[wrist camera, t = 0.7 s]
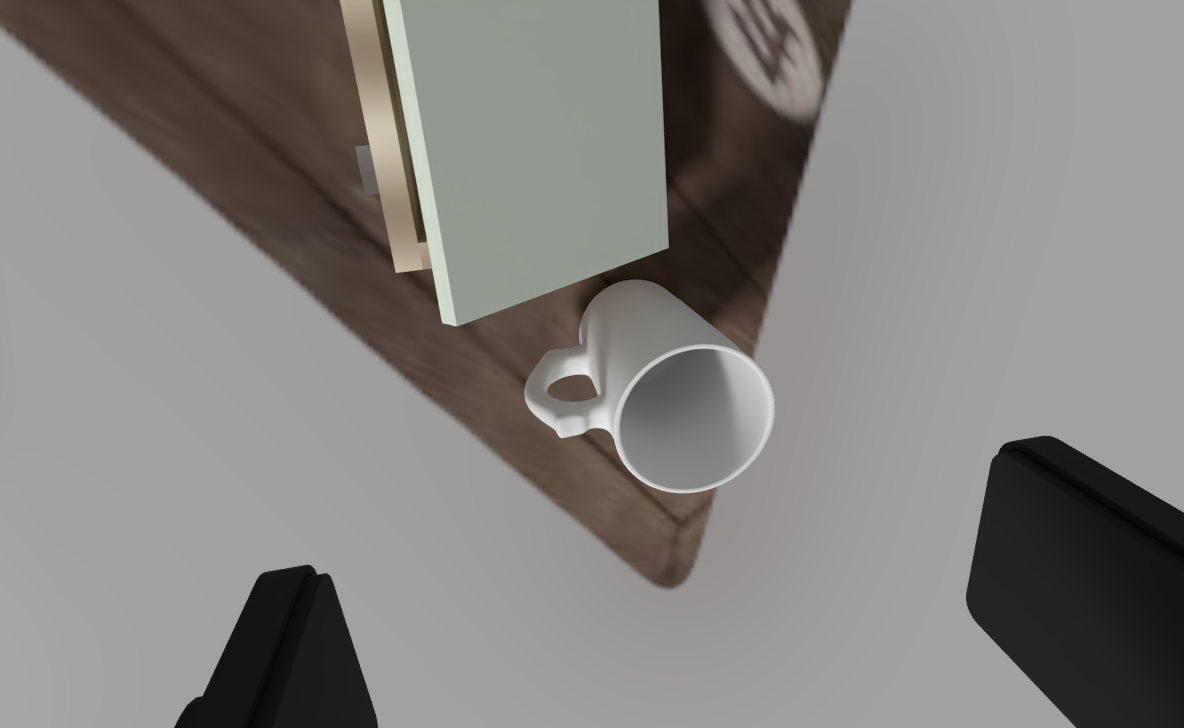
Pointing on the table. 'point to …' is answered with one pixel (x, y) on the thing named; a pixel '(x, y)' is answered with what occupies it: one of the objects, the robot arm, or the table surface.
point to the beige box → (385, 134)
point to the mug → (660, 389)
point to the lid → (531, 141)
